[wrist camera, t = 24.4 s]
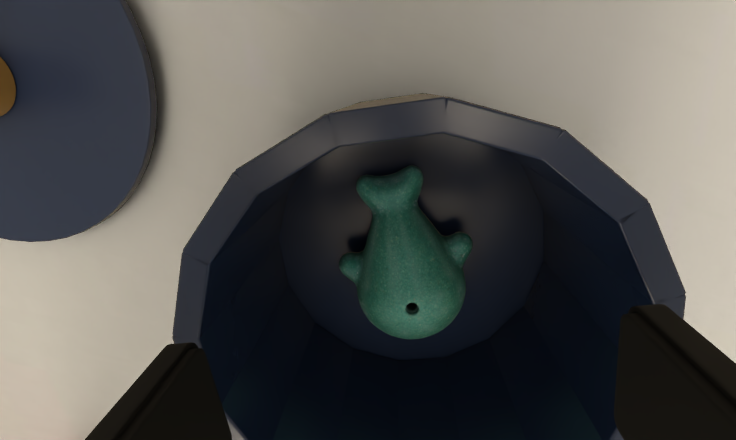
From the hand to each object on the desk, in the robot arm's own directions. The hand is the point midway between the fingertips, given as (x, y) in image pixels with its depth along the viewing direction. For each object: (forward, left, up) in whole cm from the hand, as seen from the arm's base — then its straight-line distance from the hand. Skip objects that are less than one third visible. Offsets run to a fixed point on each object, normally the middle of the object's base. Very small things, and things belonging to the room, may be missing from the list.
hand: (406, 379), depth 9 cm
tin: (+1, 0, -10) cm, 10 cm away
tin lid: (-9, -17, -10) cm, 21 cm away
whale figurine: (0, 0, -10) cm, 10 cm away
